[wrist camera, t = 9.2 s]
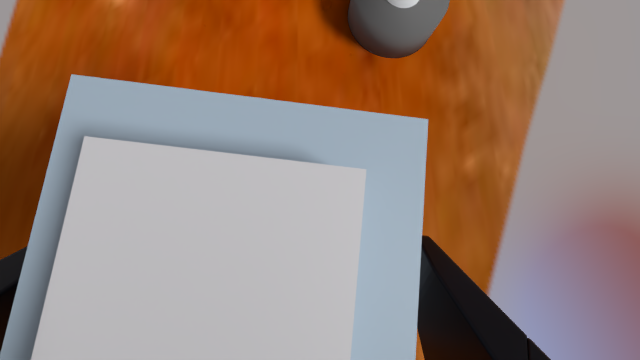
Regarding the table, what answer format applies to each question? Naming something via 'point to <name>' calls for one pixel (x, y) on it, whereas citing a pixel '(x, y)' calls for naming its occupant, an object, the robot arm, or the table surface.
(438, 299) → the robot arm
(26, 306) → the tall grey rectangular prism
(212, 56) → the table surface
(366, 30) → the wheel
